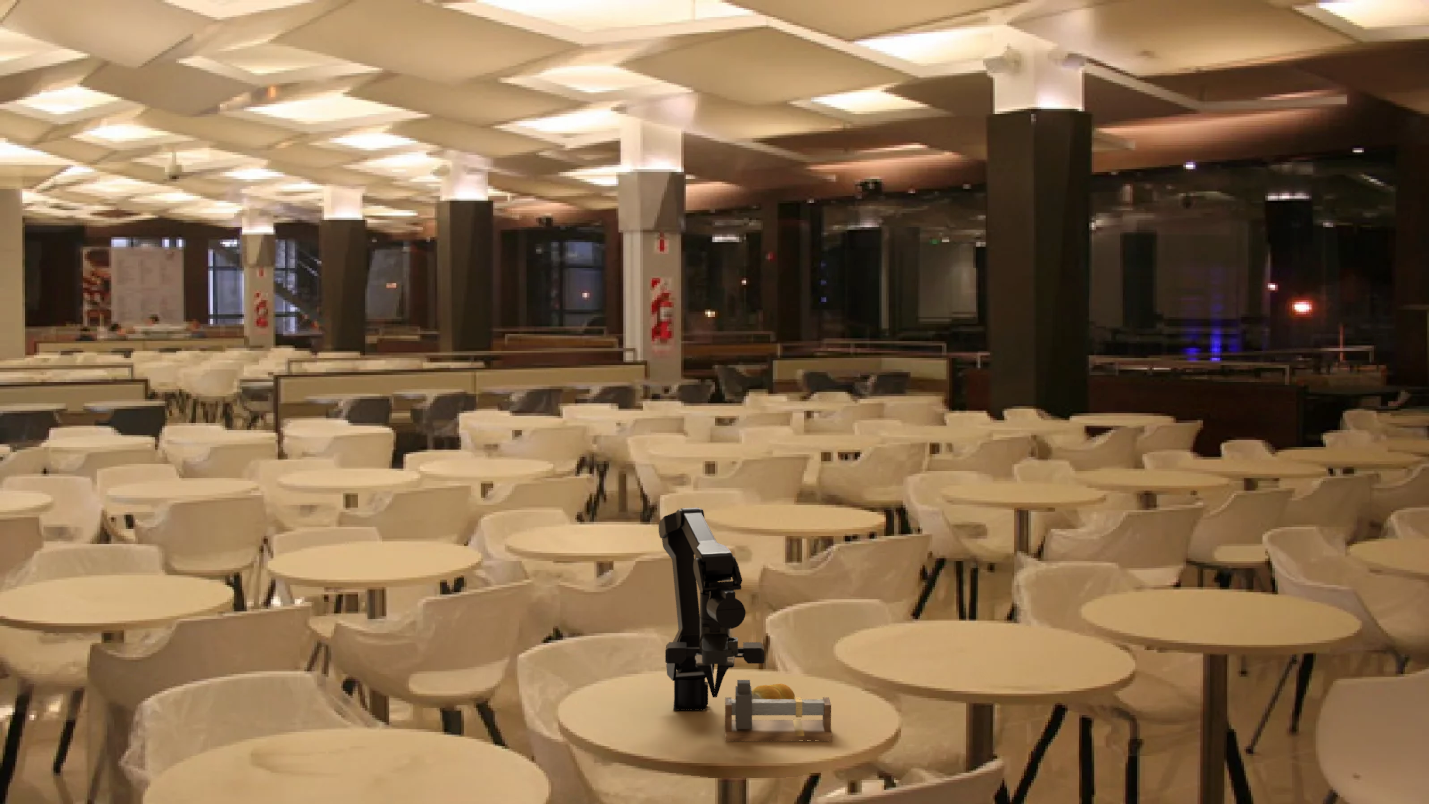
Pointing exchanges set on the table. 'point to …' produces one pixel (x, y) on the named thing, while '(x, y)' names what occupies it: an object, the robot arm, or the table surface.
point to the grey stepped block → (743, 705)
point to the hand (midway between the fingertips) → (714, 697)
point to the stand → (780, 728)
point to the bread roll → (773, 692)
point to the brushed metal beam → (784, 706)
